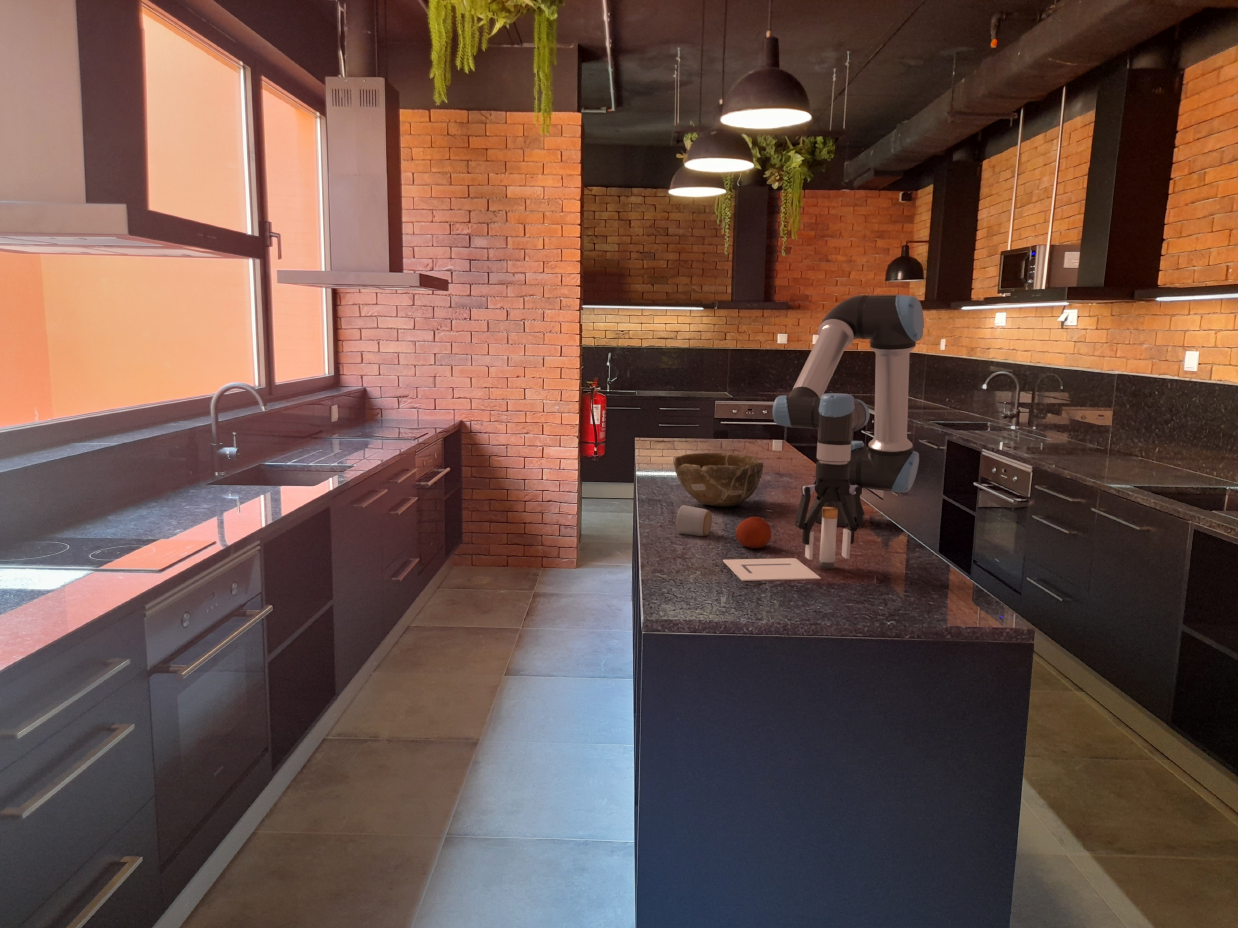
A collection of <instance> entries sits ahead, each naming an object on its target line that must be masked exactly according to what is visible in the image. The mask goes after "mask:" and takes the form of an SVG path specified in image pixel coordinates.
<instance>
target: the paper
mask: <svg viewBox="0 0 1238 928" xmlns="http://www.w3.org/2000/svg"><path fill="white" fill-rule="evenodd" d="M722 562H723V563H724V564H725V565H726V566H727V567H728V568H729V569H730V570H731V571H732V572H733V573H734V574H735V575H736V577H737V578H739V580H741V581H742V582H746V581H747V582H751V581H752V582H754V581H756V582H758V581H760V582H761V581H791V580H792V581H795V580H796V581H799V580H805V581H806V580H821V579H822V578H821V576H819V575H818V574H817V573H815V572H814V571H813V570H811V569H810V568H809V567H807V566H806V565H805V564H803V562H801V561H800V560H799V559H797V558H793V557H792V558H791V557H790V558H788V557H785V558H783V557H781V558H745V559H743V558H741V559H739V558H738V559H737V558H736V559H722Z"/></svg>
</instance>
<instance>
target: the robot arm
mask: <svg viewBox="0 0 1238 928" xmlns="http://www.w3.org/2000/svg"><path fill="white" fill-rule="evenodd" d="M924 328H925V318H924V310H923V307H922V304H921V301H920V300H919V299H918V297H916V296H914V295H908V294H907V295H905V294H874V295H872V294H871V295H869V294H867V295H866V294H859V295H855V296H852V297H849V298H846V299H845V300H842V302H841V301H840V302H839V303H838V304H837V305H836V306H834V307H832V309H831V310H830V311H829V312H828V313H827V314H826V315H825V316H824V318H823V319H822V321H821V322H820V324H819V326H818V330H817V335H818V337H817V339H816V341H815V343H814V345H813V347H812V349H811V351H810V353H809V355H808V357H807V360H806V361H805V364H804V365H803V367H802V370H801V371H800V373H799V375H798V377H797V380H796V381H795V383H794V386H793V388H792V390H791V391H790V393H789V395H787V394H784V395H779V396H777V397H775V400H774V402H773V404H772V405H773V406H772V417H773V422H774V423H775V425H777V426H781V427H787V428H788V427H789V428H798V429H814V430H815V429H816V430H817V445H816V460H818V461H816V462H815V481H814V483H813V484H811V485H805V484H803V485H802V486H801V487H800V490H801V498H800V502H799V506H798V509H797V514H796V517H795V518H796V519H795V522H794V526H795V527H796V528H798V529H800V530H802V539H801V540H802V541H801V542H802V544H803V545H805V550H804V557H805V558H806V559H808V560H813V555H814V554H813V552H814V537H815V532H814V530H812V529H813V526H814V525H815V523H818V524H821V525H822V508H823V507H834V508H837V509H838V518H837V527H846V528H843V529H842V530H843V531H842V542H841V543H842V545H841V557H842V558H844V559H846V560H850V555H851V554H850V553H851V545H854V543H855V533H856V532H857V531H858V529H862V528H864V524H865V522H866V515H865V510H864V506H863V502H862V499H861V494H862V489H865V490H866V489H867V490H876V491H883V492H890V493H907V492H910V490H911V488H912V487H913V484H914V483H915V480H916V476H917V473H918V469H919V464H920V454H919V452H917V451H916V450H913V442H911V441H910V440H909V439H908V418H909V417H908V414H909V382H910V381H909V380H910V379H909V377H910V354H911V352H912V351H913V349H915V348H916V347H917V346H916V345H917V342H918V341H920V340H922V338H923V336H924ZM855 340H869V348H870V349H871V350H872V351H873V352H874V353H875V369H874V370H875V374H874V377H875V379H874V382H875V383H874V389H875V390H874V428H873V429H874V432H873V433H874V434H873V435H874V437H873V438H872V440H870V441H869V442H868V445H867V446H868V447H867V446H866V447H865V443H864V442H863V440H853V432H856V431H859V430H861V429H862V428H864V426H866V425H867V424H868V422H869V420H870V416H871V415H870V413H871V412H870V409H869V407H868V405H867V404H866V403H865V402H864V401H863V400H860V399H858V398H857V399H856V398H854V396H853V395H851V394H850V393H849V394H848V393H839V392H837V393H836V392H835V393H834V392H833V393H832V392H830V393H825V391H826V390H827V387H828V385H829V383H830V381H831V379H832V377H833V375H834V373H835V370H836V369H837V367H838V364H839V362H840V360H841V358H842V356H843V353H844V352H845V350H846V348H848V347H850V346H851V344H852V343H853V342H854V341H855ZM814 492H815V493H816V496H815V497H814V498H815V499H814V500H813V501H814V502H813V504H812V506H811V508H810V510H809V505H810V502H811V498H812V495H813V493H814Z"/></svg>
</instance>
